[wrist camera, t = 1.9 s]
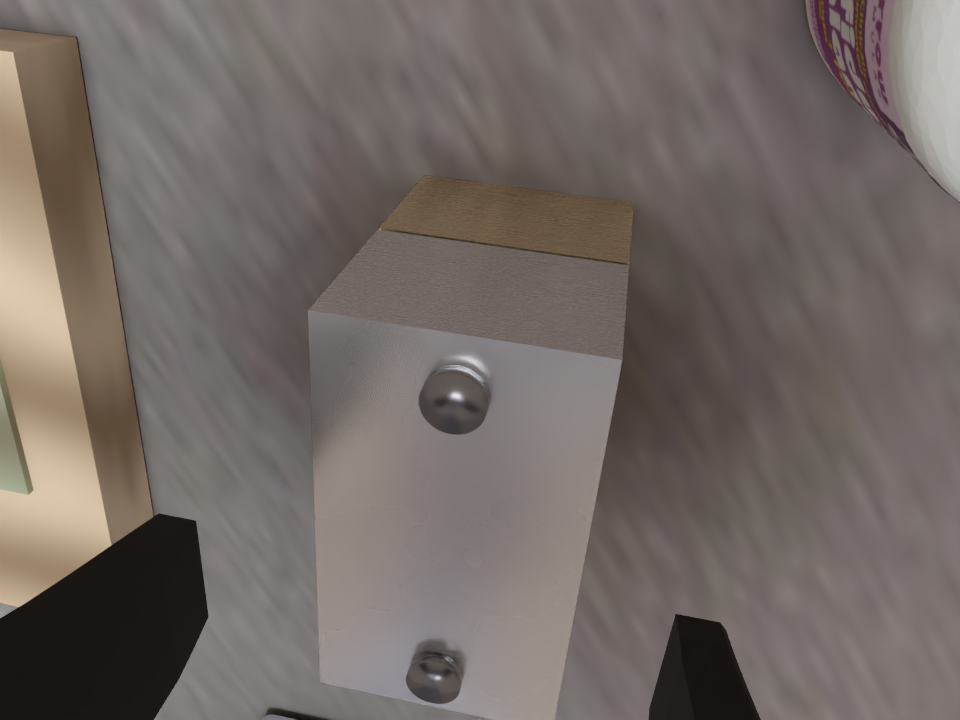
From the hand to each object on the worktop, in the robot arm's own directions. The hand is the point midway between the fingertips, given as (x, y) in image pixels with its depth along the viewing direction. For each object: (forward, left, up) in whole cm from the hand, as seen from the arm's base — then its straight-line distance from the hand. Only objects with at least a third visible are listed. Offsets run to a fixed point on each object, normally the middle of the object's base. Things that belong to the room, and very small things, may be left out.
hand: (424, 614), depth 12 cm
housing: (0, 0, -8) cm, 8 cm away
